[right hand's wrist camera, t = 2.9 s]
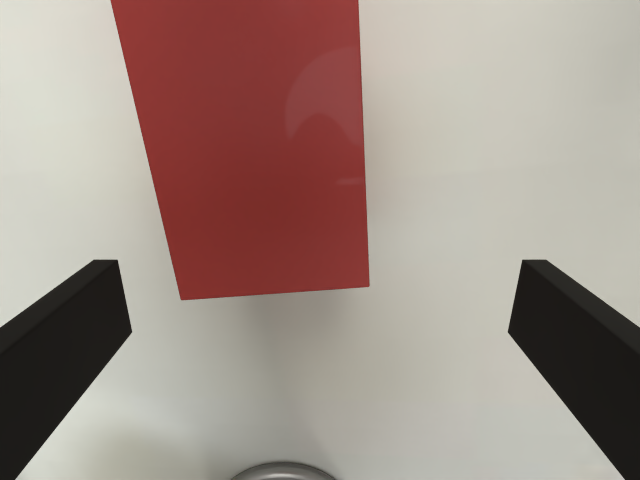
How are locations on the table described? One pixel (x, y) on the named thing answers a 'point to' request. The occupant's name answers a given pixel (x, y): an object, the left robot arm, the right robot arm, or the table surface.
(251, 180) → the cabinet
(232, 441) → the table surface
